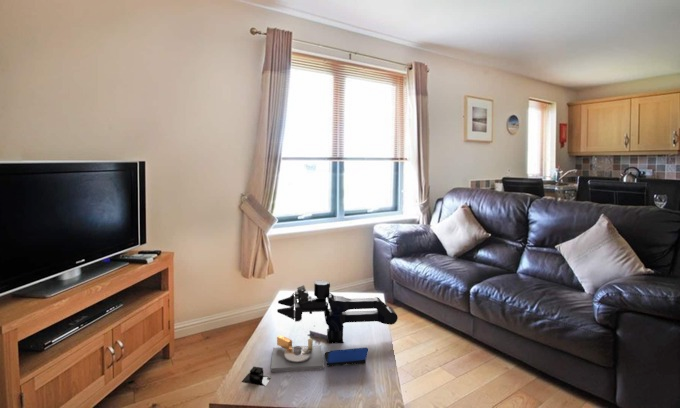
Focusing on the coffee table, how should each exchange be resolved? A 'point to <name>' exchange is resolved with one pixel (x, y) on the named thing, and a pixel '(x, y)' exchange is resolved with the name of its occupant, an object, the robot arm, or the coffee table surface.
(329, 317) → the robot arm
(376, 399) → the coffee table surface
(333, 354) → the handheld game console
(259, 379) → the black angular piece
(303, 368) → the base plate
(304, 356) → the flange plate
